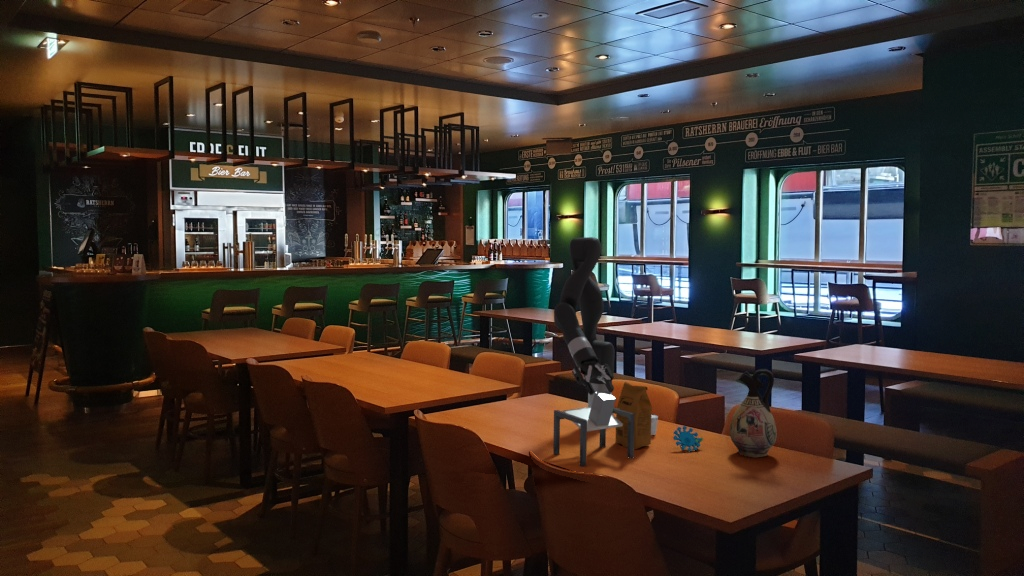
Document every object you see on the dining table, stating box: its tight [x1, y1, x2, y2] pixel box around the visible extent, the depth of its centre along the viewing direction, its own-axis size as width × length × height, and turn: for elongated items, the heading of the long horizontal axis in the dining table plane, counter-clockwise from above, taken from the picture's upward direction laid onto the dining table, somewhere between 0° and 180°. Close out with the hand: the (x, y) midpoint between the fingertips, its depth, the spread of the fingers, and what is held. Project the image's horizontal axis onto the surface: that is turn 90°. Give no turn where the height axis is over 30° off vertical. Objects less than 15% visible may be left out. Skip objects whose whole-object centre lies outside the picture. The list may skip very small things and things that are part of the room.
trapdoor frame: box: [552, 406, 635, 467], centre depth 260 cm, size 21×17×15 cm
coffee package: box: [614, 381, 653, 450], centre depth 274 cm, size 10×12×22 cm
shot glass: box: [651, 413, 659, 436], centre depth 290 cm, size 7×7×7 cm
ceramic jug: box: [729, 368, 778, 458], centre depth 263 cm, size 17×15×30 cm
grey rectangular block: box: [589, 391, 617, 426], centre depth 255 cm, size 5×5×10 cm
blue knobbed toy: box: [673, 425, 704, 452], centre depth 271 cm, size 11×6×10 cm
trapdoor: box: [562, 406, 623, 432], centre depth 260 cm, size 16×13×1 cm
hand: (602, 392), depth 255 cm, fingers open, 7 cm apart
